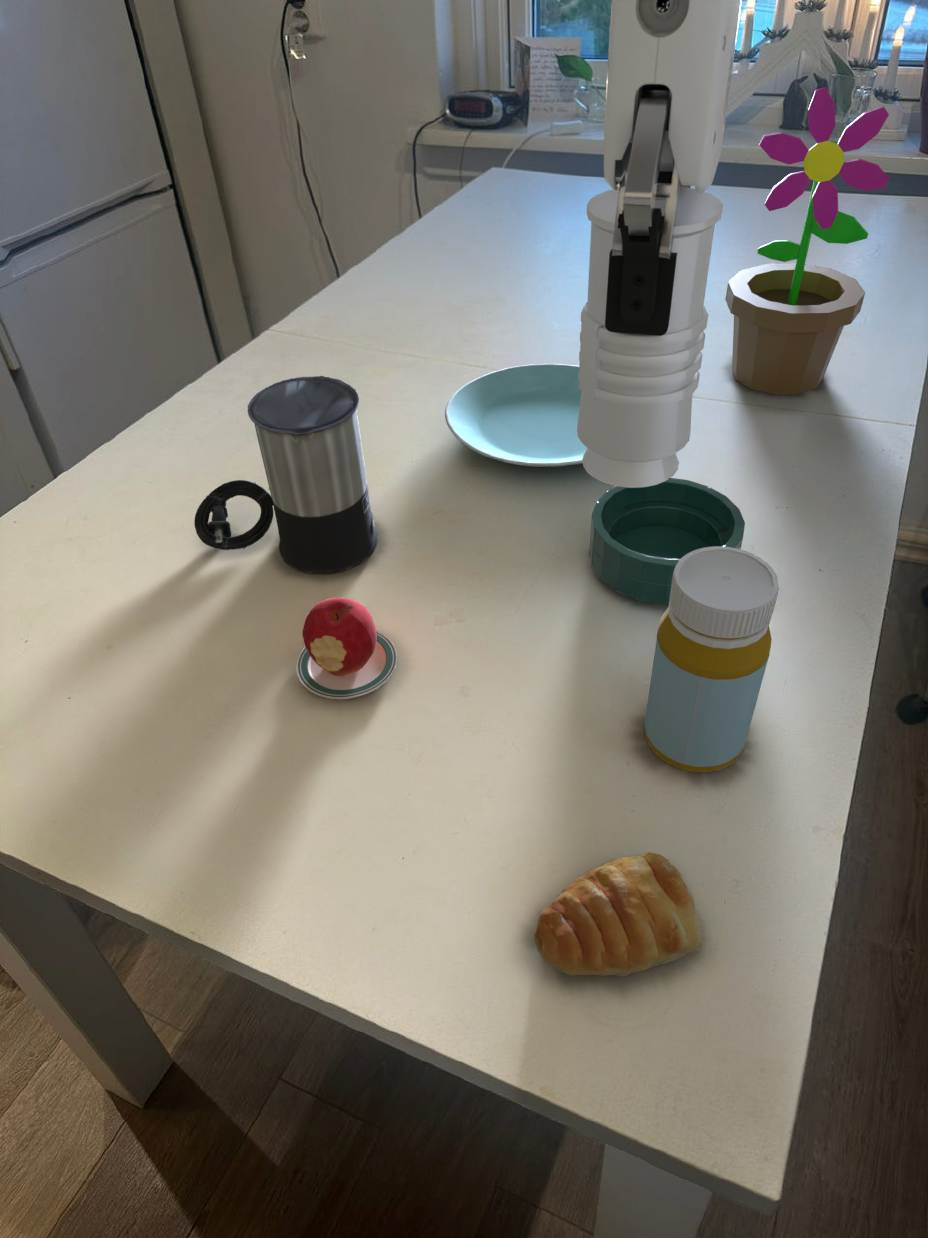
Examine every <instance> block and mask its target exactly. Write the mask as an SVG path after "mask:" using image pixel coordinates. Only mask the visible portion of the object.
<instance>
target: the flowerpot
mask: <svg viewBox="0 0 928 1238" xmlns="http://www.w3.org/2000/svg"><path fill="white" fill-rule="evenodd" d="M835 104H836V103H835V101H834V99H833V98H832V96H831V94H830V92H829V90H828V88H827V87H826V86H824V87H821V88H820V87H819V88H817V89H815V90H814V93H813V95H812V98H811V101H810V104H809V107H808V108H807V109H808V110H807V111H808V113H807V114H808V132H809V134H810V135H811V136H812V138H813V139H814V141H815V142H816V143H815V144H814V145H813V146H812V147H810V148H808V147H807V146H806V144H805V142H804V141H803V140H802V139H801V138H800V137H798V136H794V135H792V134H789V133H785V132H783V131H780V132H774V133H769V134H763V136H762V137H761V140H760V143H759V147H760V148H761V149H762V150H763V151H764V153H765V154H766V156H768V157H769V158H770V159H771V160H775V161H778V162H780V163H783V164H785V165H794V164H797V163H802V162H803V170H801V171H797V172H790V173H789V174H788V175H786V176H785V177H784V178H783V179H781V180H780V181H779V182H778V183H777V184H775V185H774V186H773V187H772V189H771V190H770V193H769V194H768V195H767V198H766V200H765V202H764V206H765V208H766V209H767V210H768V211H769V212H772V211H777V210H781V209H784V208H788V206H790V205H791V204H792V203H793V202H795V201H796V200H797V199H798V198H800V197H801V196H802V195H804V193H805V191H806V188H807V187H808V184H809V182H810V181H813V182H812V187H811V191H810V196H809V201H808V205H807V210H806V214H805V218H804V223H803V227H802V233H801V237H800V243H797V242H794V241H791V240H788V239H783V240H773V241H771V242H769V243H767V244H764V245H762V246H760V247H758V248H757V254H758V255H760V256H762V257H765V258H767V259H770V260H773V261H777V262H782V263H763V264H760V265H756V266H752V267H747V268H743V269H740V270H739V271H737V273H736V274H734V275H733V276H732V277H731V278H730V279H729V280H728V281H727V287H726V293H725V298H724V299H725V302H726V305H727V308H728V310H729V313H730V314H732V315H733V329H732V331H733V332H732V333H733V334H732V358H731V370H732V373H733V376H734V379H735V380H736V381H738V382H739V383H740V384H742V385H744V386H745V387H747V388H749V389H750V390H754V391H758V392H762V393H767V394H771V395H800V394H802V393H805V392H808V391H812V390H814V389H817V387H818V386H819V385H820V383H821V382H822V380H823V378H824V376H825V374H826V372H827V369H828V367H829V364H830V362H831V359H832V357H833V354H834V352H835V350H836V347H837V344H838V342H839V339H840V337H841V335H842V332H843V330H844V327H845V326H848V325H851V324H852V323H853V322H854V321H855V319H856V318H857V316H858V315H859V314H860V312H861V310H862V306H863V303H864V299H865V296H866V291H865V289H864V288H863V287H862V285H860V283H859V281H858V280H857V279H856V278H854V277H852V276H849V275H847V274H844V273H842V272H840V271H838V270H836V269H833V268H831V267H824V266H818V265H813V264H806V261H807V257H808V253H809V252H808V251H809V247H810V242H811V238H812V235H814V236H816V237H817V238H819V239H821V240H822V241H824V242H825V243H827V244H841V245H843V244H844V245H848V244H851V243H855V242H859V241H862V240H867V239H868V236H869V232H868V231H867V230H866V229H865V227H863V225H862V224H861V223H860V222H859V221H858V219H856V217H855V216H853V215H850V214H847V213H845V212H842V211H839V191H838V189H837V187H836V185H834V183H833V182H832V179H833V178H835V177H836V176H837V175H839V176H840V177H841V178H842V180H843V181H844V183H845V184H846V185H847V186H850V187H853V188H856V189H859V190H862V191H865V192H866V191H874V190H880V189H885V187H886V186H887V184H888V182H889V180H890V177H889V176H888V175H887V174H886V172H885V171H884V170H883V169H882V168H881V166H880V165H879V164H878V163H875V162H871V161H868V160H866V159H862V158H860V157H859V158H856V159H855V158H854V159H851V160H847V161H845V156H844V155H845V154H844V153H846V152H851V151H857V150H859V149H861V148H862V147H864V146H865V145H866V144H867V143H868V142H870V141H871V140H873V139H874V138H876V136H878V134H879V133H880V131H881V129H882V128H883V126H884V124H885V123H886V121H887V119H888V117H889V116H890V113H889V112H888V111H887V109H886V108H885V106H881V107H877V108H874V109H870V110H868V111H864V112H863V113H861V114H860V115H859V116H858V117H856V118H855V119H854V120H853V121H852V122H851V123H849V124H848V125H847V126H846V127H844V130H843V132H842V134H841V136H840V138H839V140H838V142H835V141H833V140H830V138H831V136H832V134H833V131H834V130H835V127H836V105H835ZM794 260H796V261H795V262H794V263H793V262H792V263H791V262H790V261H794ZM787 262H788V263H787Z"/></svg>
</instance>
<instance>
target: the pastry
mask: <svg viewBox="0 0 928 1238" xmlns="http://www.w3.org/2000/svg"><path fill="white" fill-rule="evenodd" d="M534 944H535V947H536V949H537V952H538V953H539V955H540V956H541V958H542V959H543V960H544V961H545V962H546V963H547V964H549V965H550V966H551V967H552V968H554V969H556V970H557V971H559V972H561V973H563V974H567V975H568V976H570V977H575V976H591V975H594V976H595V975H596V976H602V977H603V976H616V977H628V976H630V975H631V974H634V973H640V972H643V971H647V970H648V969H652V968H653V969H654V968H656V967H657V966H659V965H660V966H661V965H663V964H666V963H671V962H673V961H677V960H679V959H681V958H682V957H684V956H685V955H688V954H691V953H694V952H697V951H698V950H700V949H701V947H702V946H703V944H704V933H703V926H702V922H701V919H700V916H699V914H698V913H697V910H696V905H695V900H694V897H693V895H692V893H691V891H690V889H689V888H688V885H687V883H686V881H685V880H684V877H683V876H682V874H681V872H680V870H679V868H677V867H676V866H675V865H673V864H672V863H671V861H670V860H669V859H668V858H667V857H665V856H664V855H662V854H661V853H658V852H653V851H648V852H647V853H645V854H642V855H635V856H626V857H619V858H614V859H611V860H609V861H608V862H606V863H604V864H602V865H600V866H599V867H598V866H597V867H595V868H593V869H590V870H589V871H587V872H586V873H585V874H583V875H582V876H579V877H577V878H575V880H574V881H573V882H572V883H571V884H569V885H568V886H566V887H565V888H564V889H563V891H562V892H561V894H560V895H558V896H557V897H556V899H555V900H553V901H552V902H551V903H550V904H548V905H547V906H545V907H544V908H543V909H542V911H541V913H540V915H539V919H538V922H537V926H536V931H535V932H534Z"/></svg>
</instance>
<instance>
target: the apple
mask: <svg viewBox="0 0 928 1238" xmlns="http://www.w3.org/2000/svg"><path fill="white" fill-rule="evenodd" d="M301 634H302V639H303V644H304V647H303V648H302V650H301V651H300V653H299V654H298V657H297V660H296V663H295V665H296V666H295V669H296V675H297V678H298V681H299V682H300V684H301V685H302V686H303V687H304V688H305V689H306V690H308V691H309V692H311V693H312V694H314V695H316V696H318V697H322V698H324V699H325V698H326V699H331V700H350V699H355V698H359V697H363V696H366V695H368V694H371V693H373V692H375V691H377V689H379V688H381V687H382V686H383V685H384V684H386V683H388V681H389V680H390V679H391V677H392V676H393V675H394V673H395V670H396V668H397V666H398V650H397V648H396V645H395V644H394V642H393V641H392V640H391V639H390V638H389V637H388V636H386V635H385V634H384V633H382V632H380V631H378V630H377V628H376V624H375V622H374V619H373V617H372V614H371V612H370V611H369V609H367V608H366V607H365V606H364V605H363V604H362V603H360V602H359V601H357V600H354V599H352V598H347V597H330V598H326V599H323V600H321V601H319V602H317V603H316V604H314V606H313V607H312V608H311V609H310V610H309V612H308V614H307V615H306V617H305V620H304V623H303V627H302V632H301Z"/></svg>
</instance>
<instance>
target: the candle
mask: <svg viewBox="0 0 928 1238" xmlns="http://www.w3.org/2000/svg"><path fill="white" fill-rule="evenodd" d="M680 191H681V192H680V197H679V201H678V208H677V216H676V223H675V230H674V237H673V244H672V251H671V252H673V253H677V260H676V269H675V277H674V286H673V294H672V303H671V312H670V320H669V327H668V330H667V332H666V333H665V334H664V335H662V336H655V335H642V334H629V333H616V332H610V331H608V330H607V329H606V327H605V315H606V300H607V285H608V269H609V254H610V251H611V249H612V244H613V235H614V227H615V218H616V210H617V201H618V193H619V192H618V190H614V189H613V188H611V189H609V190H605V191H603V192H601V193H598V194H596V195H594V196H593V197H592V198H590V199H589V200H588V202H587V204H586V216H587V219H588V221H590V222H591V223H590V240H589V242H590V243H589V258H588V259H589V262H588V263H589V264H588V280H587V281H588V282H587V302H586V303H585V304H584V305H583V307H582V309H581V312H580V322H581V324H580V332H579V342H580V345H579V352H578V361H579V365H578V366H579V371H578V379H579V389H580V390H581V391H582V394H581V401H580V409H579V416H578V423H577V434H578V438H579V439H580V441H581V442H582V443H583V445H585V446H586V447H587V449H586V451H585V452H584V455H583V458H582V462H583V463H582V465H583V466H582V467H583V468H584V470H585V471H586V472H587V474H589V476H591V477H592V478H594V479H596V480H598V481H599V482H602V483H604V484H607V485H611V486H614V487H616V486H619V487H628V488H638V487H648V486H653V485H657V484H659V483H662V482H664V481H666V480H668V479H669V478H673V477H674V475H676V473H677V472H678V471H679V465H680V462H679V459H678V456H677V453H678V452H680V451H681V450H683V449H684V448H685V447H686V446H687V444H688V443H689V441H690V436H691V429H692V412H693V411H692V409H693V394H694V393H695V391H697V389H698V388H699V383H700V376H701V375H700V374H701V373H700V371H699V370H700V369H701V368H702V361H703V353H702V351H703V349H704V348H705V347H704V346H705V340H706V333H705V330H706V329H707V327H708V322H709V321H708V319H709V313H708V311H707V308H706V307H705V297H706V290H707V283H708V276H709V270H710V262H711V256H712V249H713V241H714V235H715V227H716V224H717V223H718V222H719V221H721V219H722V215H723V208H724V204H723V202H722V201H721V199H720V198H719V197H717V196H715V195H714V194H712V193H709V192H706V191H704V192H702V193H701V194H698V193H695V188H694V187H693V188H692V187H690V188H688V187H682V186H681V187H680ZM665 201H666V200H656V204H655V208H661V212H662V216H664V209H665Z"/></svg>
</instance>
